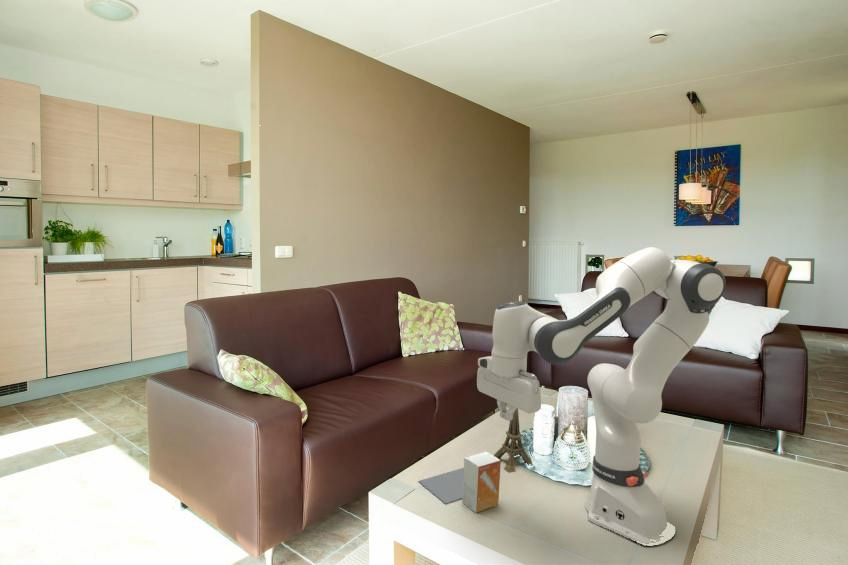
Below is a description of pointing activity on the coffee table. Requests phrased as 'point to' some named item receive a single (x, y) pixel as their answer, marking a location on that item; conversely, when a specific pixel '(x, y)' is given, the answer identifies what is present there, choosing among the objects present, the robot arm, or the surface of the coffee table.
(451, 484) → the slate mat
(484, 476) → the small box
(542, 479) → the coffee table surface
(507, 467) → the eiffel tower
